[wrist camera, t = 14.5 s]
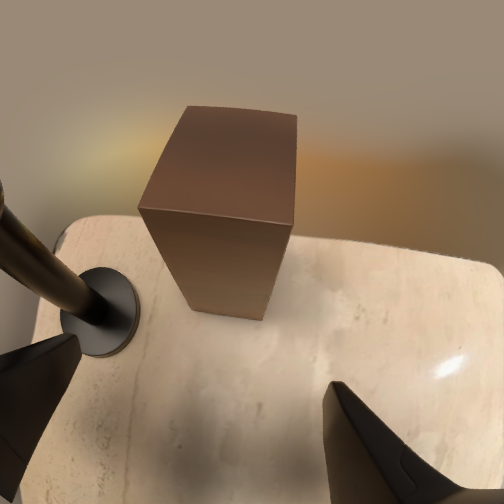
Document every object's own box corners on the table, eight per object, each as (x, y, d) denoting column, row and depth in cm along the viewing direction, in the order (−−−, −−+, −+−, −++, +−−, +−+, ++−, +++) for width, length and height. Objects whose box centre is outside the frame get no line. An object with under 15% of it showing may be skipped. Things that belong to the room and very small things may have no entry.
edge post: (58, 346, 17) (-105, 256, 3) (76, 266, 20) (-39, 128, 6) (132, 366, 17) (-69, 280, 3) (148, 275, 20) (41, 91, 6)
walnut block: (262, 320, 19) (293, 226, 8) (191, 310, 19) (136, 207, 8) (270, 245, 22) (297, 114, 11) (207, 237, 22) (187, 105, 11)
